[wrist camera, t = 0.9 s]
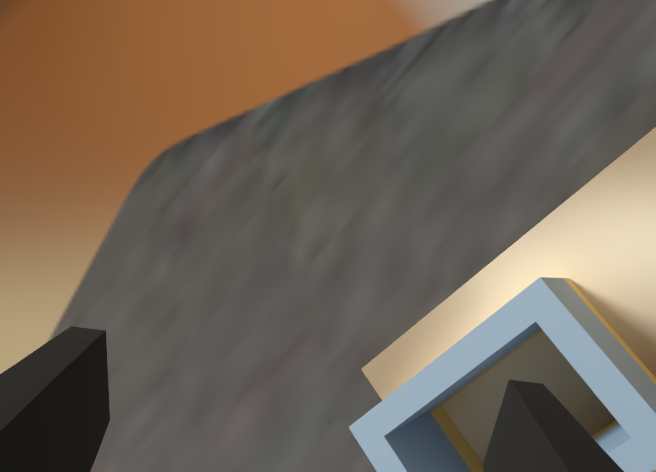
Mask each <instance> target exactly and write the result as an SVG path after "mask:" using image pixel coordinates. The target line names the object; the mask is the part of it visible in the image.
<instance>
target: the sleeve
mask: <svg viewBox="0 0 656 472" xmlns="http://www.w3.org/2000/svg"><path fill="white" fill-rule="evenodd" d="M541 331H544V332H545V333H546V335H547V336H548V337H549V338H550V340H551V341H552V342H553V343H554V344H555V346H556V347H557V348H558V349H559V351H560V352H561V353H562V354H563V355H564V357H565V358H566V359H567V360H568V362H569V363H570V364H571V365H572V366H573V368H574V369H575V370H576V371H577V373H578V374H579V375H580V376H581V377H582V379H583V380H584V381H585V382H586V384H587V385H588V386H589V387H590V388H591V390H592V391H593V392H594V393H595V394H596V396H597V397H598V398H599V399H600V401H601V402H602V403H603V404H604V405H605V407H606V408H607V409H608V410H609V412H610V413H611V414H612V415H613V416H614V418H615V419H616V420H615V421H613V422H612V423H610V424H609V425H607V426H606V427H604V428H603V429H601V430H600V431H598V432H596V433H595V434H593V435H592V436H591V437H592V438H593V439H594V440H595V441H596V442H597V443H598V444H599V445H600V447H601V448H602V449H603V450H604V451H605V452H606V453H607V454H608V455H609V456H610V457H611V458H612V459H613V460H614V462H615V463H616V464H617V465H618V466H619V467H620V468H621V469H622V470H623V471H624V472H652V471H653V470H655V469H656V377H655V376H654V375H653V374H652V373H651V372H650V370H649V369H648V368H647V367H646V366H645V365H644V364H643V362H642V361H641V360H640V359H639V358H638V357H637V355H636V354H635V353H634V352H633V351H632V350H631V349H630V347H629V346H628V345H627V344H626V343H625V342H624V341H623V339H622V338H621V337H620V336H619V335H618V334H617V332H616V331H615V330H614V329H613V328H612V327H611V326H610V324H609V323H608V322H607V321H606V320H605V319H604V318H603V316H602V315H601V314H600V313H599V312H598V311H597V309H596V308H595V307H594V306H593V305H592V304H591V303H590V301H589V300H588V299H587V298H586V297H585V296H584V295H583V293H582V292H581V291H580V290H579V289H578V288H577V286H576V285H575V284H574V283H573V282H572V281H571V280H570V278H550V277H539V278H538V279H537V280H536V281H534V282H533V283H532V284H530V285H529V286H528V287H527V288H525V289H524V290H523V291H522V292H520V293H519V294H518V295H516V296H515V297H514V298H513V299H511V300H510V301H509V302H508V303H506V304H505V305H504V306H502V307H501V308H500V309H499V310H497V311H496V312H495V313H494V314H492V315H491V316H490V317H488V318H487V319H486V320H485V321H483V322H482V323H481V324H480V325H478V326H477V327H476V328H474V329H473V330H472V331H471V332H469V333H468V334H467V335H466V336H464V337H463V338H462V339H460V340H459V341H458V342H457V343H455V344H454V345H453V346H451V347H450V348H449V349H448V350H446V351H445V352H444V353H443V354H441V355H440V356H439V357H437V358H436V359H435V360H434V361H432V362H431V363H430V364H429V365H427V366H426V367H425V368H423V369H422V370H421V371H420V372H418V373H417V374H416V375H415V376H413V377H412V378H411V379H409V380H408V381H407V382H406V383H404V384H403V385H402V386H401V387H399V388H398V389H397V390H395V391H394V392H393V393H392V394H390V395H389V396H388V397H387V398H385V399H384V400H383V401H381V402H380V403H379V404H378V405H376V406H375V407H374V408H373V409H371V410H370V411H369V412H367V413H366V414H365V415H364V416H362V417H361V418H360V419H359V420H357V421H356V422H355V423H353V424H352V425H351V426H350V427H349V429H350V430H351V432H352V433H353V435H354V437H355V438H356V440H357V441H358V443H359V444H360V446H361V447H362V449H363V451H364V452H365V454H366V455H367V457H368V458H369V460H370V462H371V463H372V465H373V466H374V468H375V469H376V471H377V472H484V470H483V463H482V462H481V460H480V459H479V458H478V456H477V455H476V453H475V452H474V451H473V449H472V448H471V446H470V445H469V444H468V442H467V441H466V439H465V438H464V437H463V435H462V434H461V432H460V431H459V430H458V428H457V427H456V425H455V424H454V422H453V421H452V420H451V418H450V417H449V415H448V414H447V413H446V411H445V410H444V408H443V407H442V405H444V404H445V403H446V402H448V401H449V400H450V399H452V398H453V397H454V396H456V395H457V394H458V393H460V392H461V391H462V390H464V389H465V388H466V387H468V386H469V385H470V384H472V383H473V382H474V381H476V380H477V379H478V378H480V377H481V376H482V375H484V374H485V373H486V372H488V371H489V370H490V369H492V368H493V367H494V366H496V365H497V364H498V363H500V362H501V361H503V360H504V359H505V358H507V357H508V356H509V355H511V354H512V353H513V352H515V351H516V350H517V349H519V348H520V347H521V346H523V345H524V344H525V343H527V342H528V341H529V340H531V339H532V338H533V337H535V336H536V335H537V334H539V333H540V332H541Z"/></svg>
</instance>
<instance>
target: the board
mask: <svg viewBox="0 0 656 472" xmlns="http://www.w3.org/2000/svg"><path fill="white" fill-rule="evenodd" d="M539 277H550V278H570V280H571V281H572V282H573V283H574V284H575V285H576V286H577V288H578V289H579V290H580V291H581V292H582V293H583V295H584V296H585V297H586V298H587V299H588V300H589V301H590V303H591V304H592V305H593V306H594V307H595V308H596V309H597V311H598V312H599V313H600V314H601V315H602V316H603V318H604V319H605V320H606V321H607V322H608V323H609V324H610V326H611V327H612V328H613V329H614V330H615V331H616V332H617V334H618V335H619V336H620V337H621V338H622V339H623V341H624V342H625V343H626V344H627V345H628V346H629V347H630V349H631V350H632V351H633V352H634V353H635V354H636V355H637V357H638V358H639V359H640V360H641V361H642V362H643V364H644V365H645V366H646V367H647V368H648V369H649V370H650V372H651V373H652V374H653V375H654V376H655V377H656V127H655V128H654V129H653V130H652V131H650V132H649V133H648V134H647V135H646V136H644V137H643V138H642V139H641V140H639V141H638V142H637V143H636V144H635V145H633V146H632V147H631V148H630V149H628V150H627V151H626V152H625V153H624V154H622V155H621V156H620V157H619V158H618V159H616V160H615V161H614V162H613V163H611V164H610V165H609V166H608V167H607V168H605V169H604V170H603V171H602V172H600V173H599V174H598V175H597V176H596V177H594V178H593V179H592V180H591V181H590V182H588V183H587V184H586V185H585V186H583V187H582V188H581V189H580V190H579V191H577V192H576V193H575V194H574V195H573V196H571V197H570V198H569V199H568V200H566V201H565V202H564V203H563V204H562V205H560V206H559V207H558V208H557V209H555V210H554V211H553V212H552V213H551V214H549V215H548V216H547V217H546V218H545V219H543V220H542V221H541V222H540V223H538V224H537V225H536V226H535V227H534V228H532V229H531V230H530V231H529V232H527V233H526V234H525V235H524V236H523V237H521V238H520V239H519V240H518V241H517V242H515V243H514V244H513V245H512V246H510V247H509V248H508V249H507V250H506V251H504V252H503V253H502V254H501V255H499V256H498V257H497V258H496V259H495V260H493V261H492V262H491V263H490V264H489V265H487V266H486V267H485V268H484V269H482V270H481V271H480V272H479V273H478V274H476V275H475V276H474V277H473V278H471V279H470V280H469V281H468V282H467V283H465V284H464V285H463V286H462V287H461V288H459V289H458V290H457V291H456V292H454V293H453V294H452V295H451V296H450V297H448V298H447V299H446V300H445V301H443V302H442V303H441V304H440V305H439V306H437V307H436V308H435V309H434V310H433V311H431V312H430V313H429V314H428V315H426V316H425V317H424V318H423V319H422V320H420V321H419V322H418V323H417V324H415V325H414V326H413V327H412V328H411V329H409V330H408V331H407V332H406V333H405V334H403V335H402V336H401V337H400V338H398V339H397V340H396V341H395V342H394V343H392V344H391V345H390V346H389V347H387V348H386V349H385V350H384V351H383V352H381V353H380V354H379V355H378V356H377V357H375V358H374V359H373V360H372V361H370V362H369V363H368V364H367V365H366V366H364V367H363V368H362V369H361V370H362V371H363V373H364V374H365V375H366V377H367V378H368V380H369V381H370V383H371V384H372V386H373V387H374V389H375V390H376V392H377V393H378V395H379V396H380V398H381V399H382V401H383V400H384V399H385V398H387V397H388V396H389V395H390V394H392V393H393V392H394V391H395V390H397V389H398V388H399V387H401V386H402V385H403V384H404V383H406V382H407V381H408V380H409V379H411V378H412V377H413V376H415V375H416V374H417V373H418V372H420V371H421V370H422V369H423V368H425V367H426V366H427V365H429V364H430V363H431V362H432V361H434V360H435V359H436V358H437V357H439V356H440V355H441V354H443V353H444V352H445V351H446V350H448V349H449V348H450V347H451V346H453V345H454V344H455V343H457V342H458V341H459V340H460V339H462V338H463V337H464V336H466V335H467V334H468V333H469V332H471V331H472V330H473V329H474V328H476V327H477V326H478V325H480V324H481V323H482V322H483V321H485V320H486V319H487V318H488V317H490V316H491V315H492V314H494V313H495V312H496V311H497V310H499V309H500V308H501V307H502V306H504V305H505V304H506V303H508V302H509V301H510V300H511V299H513V298H514V297H515V296H516V295H518V294H519V293H520V292H522V291H523V290H524V289H525V288H527V287H528V286H529V285H530V284H532V283H533V282H534V281H536V280H537V279H538V278H539ZM509 380H517V381H525V382H533V383H541V384H544V385H545V386H546V388H547V389H548V390H549V391H550V392H551V393H552V394H553V395H554V396H555V397H556V398H557V399H558V400H559V401H560V402H561V404H562V405H563V406H564V407H565V408H566V409H567V410H568V411H569V412H570V414H571V415H572V416H573V417H574V418H575V419H576V420H577V421H578V422H579V423H580V425H581V426H582V427H583V428H584V429H585V430H586V431H587V432H588V433H589V435H590V436H592V435H593V434H595V433H596V432H598V431H600V430H601V429H603V428H604V427H606V426H607V425H609V424H610V423H612V422H613V421H615V420H616V419H615V418H614V416H613V415H612V414H611V413H610V412H609V410H608V409H607V408H606V407H605V405H604V404H603V403H602V402H601V401H600V399H599V398H598V397H597V396H596V394H595V393H594V392H593V391H592V390H591V388H590V387H589V386H588V385H587V384H586V382H585V381H584V380H583V379H582V377H581V376H580V375H579V374H578V373H577V371H576V370H575V369H574V368H573V366H572V365H571V364H570V363H569V362H568V360H567V359H566V358H565V357H564V355H563V354H562V353H561V352H560V351H559V349H558V348H557V347H556V346H555V344H554V343H553V342H552V341H551V340H550V338H549V337H548V336H547V335H546V333H545V332H544V331H541V332H540V333H539V334H537V335H536V336H535V337H533V338H532V339H531V340H529V341H528V342H527V343H525V344H524V345H523V346H521V347H520V348H519V349H517V350H516V351H515V352H513V353H512V354H511V355H509V356H508V357H507V358H505V359H504V360H503V361H501V362H500V363H498V364H497V365H496V366H494V367H493V368H492V369H490V370H489V371H488V372H486V373H485V374H484V375H482V376H481V377H480V378H478V379H477V380H476V381H474V382H473V383H472V384H470V385H469V386H468V387H466V388H465V389H464V390H462V391H461V392H460V393H458V394H457V395H456V396H454V397H453V398H452V399H450V400H449V401H448V402H446V403H445V404H444V405H442V407H443V408H444V410H445V411H446V413H447V414H448V415H449V417H450V418H451V420H452V421H453V422H454V424H455V425H456V427H457V428H458V430H459V431H460V432H461V434H462V435H463V437H464V438H465V439H466V441H467V442H468V444H469V445H470V446H471V448H472V449H473V451H474V452H475V453H476V455H477V456H478V458H479V459H480V460H481V462H482V463H483V462H484V459H485V456H486V452H487V449H488V446H489V443H490V439H491V436H492V433H493V430H494V426H495V423H496V420H497V416H498V413H499V410H500V407H501V403H502V400H503V397H504V394H505V390H506V387H507V384H508V381H509ZM652 472H656V469H655V470H653V471H652Z"/></svg>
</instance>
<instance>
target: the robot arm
mask: <svg viewBox="0 0 656 472" xmlns="http://www.w3.org/2000/svg"><path fill="white" fill-rule="evenodd" d="M109 421H110V413H109V391H108V369H107V348H106V331H104V330H96V329H88V328H79V327H70V328H68V329H67V330H65V331H64V332H62V333H61V334H59V335H58V336H56V337H55V338H53V339H52V340H50V341H49V342H47V343H46V344H44V345H43V346H41V347H40V348H38V349H37V350H36V351H34V352H33V353H31V354H30V355H28V356H27V357H25V358H24V359H22V360H21V361H20V362H18V363H17V364H15V365H14V366H12V367H11V368H9V369H8V370H6V371H5V372H3V373H2V374H0V472H90V471H91V468H92V466H93V463H94V461H95V458H96V455H97V453H98V450H99V448H100V445H101V442H102V440H103V437H104V434H105V431H106V429H107V426H108V423H109ZM483 470H484V472H624V471H623V470H622V469H621V468H620V467H619V466H618V465H617V464H616V463H615V462H614V460H613V459H612V458H611V457H610V456H609V455H608V454H607V453H606V452H605V451H604V450H603V449H602V448H601V447H600V445H599V444H598V443H597V442H596V441H595V440H594V439H593V438H592V437H591V436H590V435H589V433H588V432H587V431H586V430H585V429H584V428H583V427H582V426H581V425H580V423H579V422H578V421H577V420H576V419H575V418H574V417H573V416H572V415H571V414H570V412H569V411H568V410H567V409H566V408H565V407H564V406H563V405H562V404H561V402H560V401H559V400H558V399H557V398H556V397H555V396H554V395H553V394H552V393H551V392H550V391H549V390H548V389H547V388H546V386H545V385H544V384H541V383H533V382H525V381H517V380H509V381H508V384H507V387H506V390H505V394H504V397H503V400H502V403H501V407H500V410H499V413H498V416H497V420H496V423H495V426H494V430H493V433H492V436H491V439H490V443H489V446H488V449H487V452H486V456H485V459H484V462H483Z"/></svg>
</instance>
